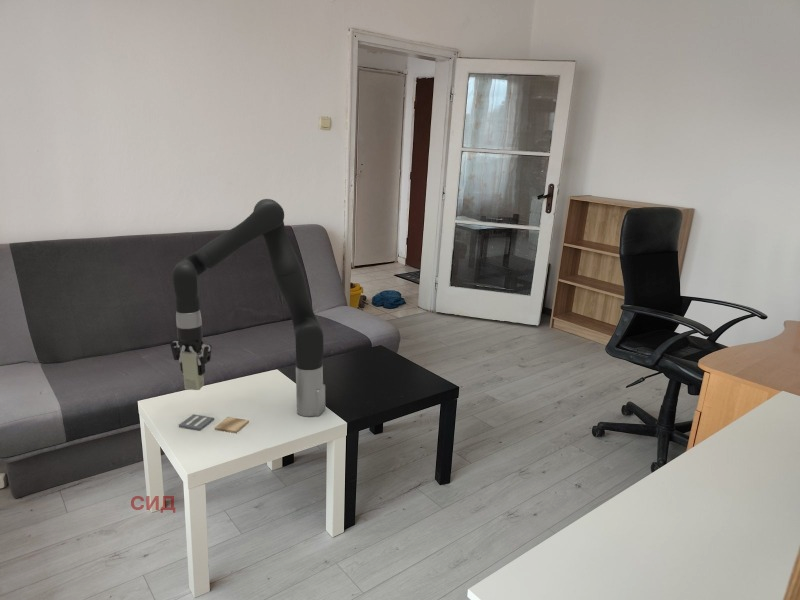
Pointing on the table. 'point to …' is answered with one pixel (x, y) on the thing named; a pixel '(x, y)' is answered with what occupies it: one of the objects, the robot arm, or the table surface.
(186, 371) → the box
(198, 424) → the pad slate
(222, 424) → the pad oak
